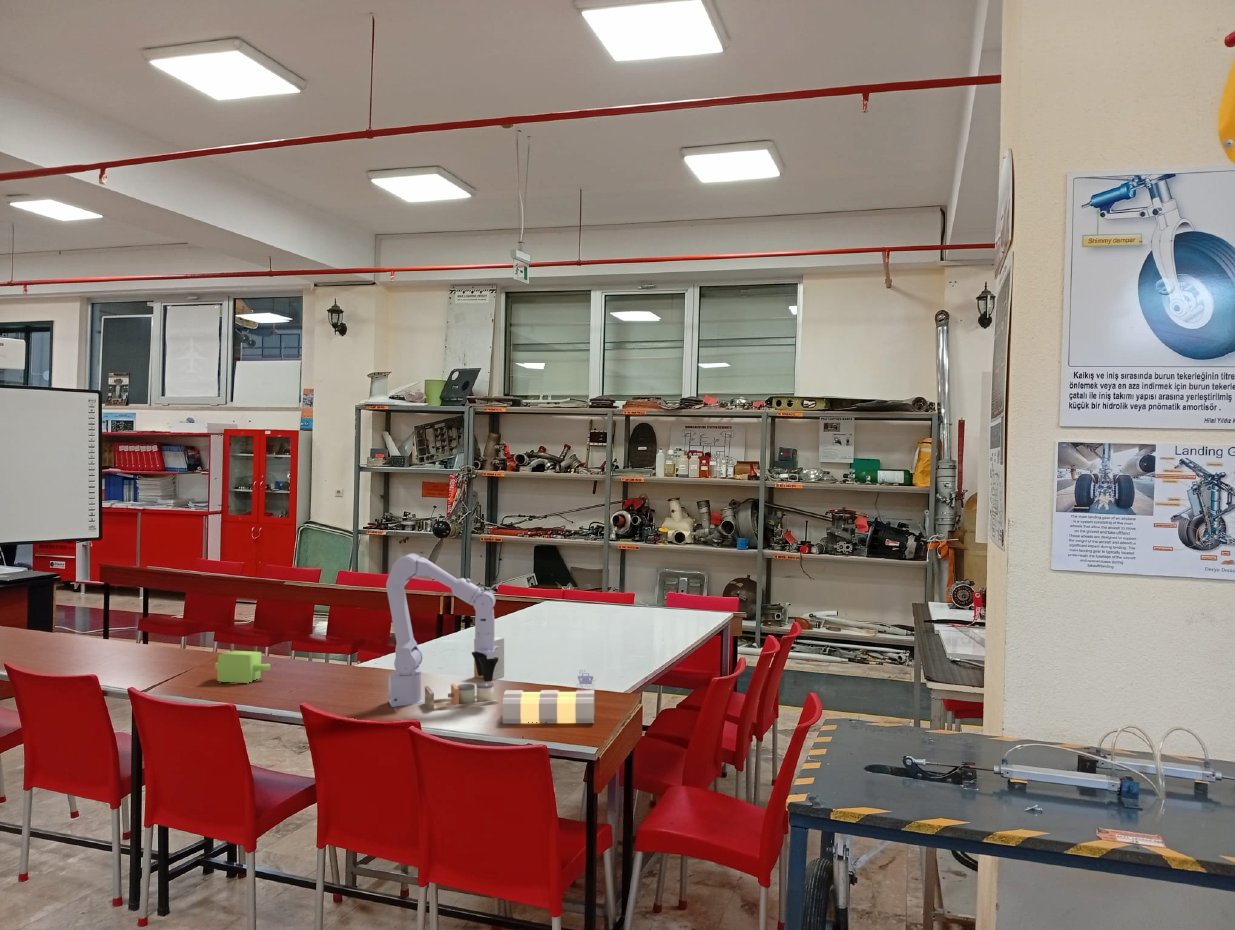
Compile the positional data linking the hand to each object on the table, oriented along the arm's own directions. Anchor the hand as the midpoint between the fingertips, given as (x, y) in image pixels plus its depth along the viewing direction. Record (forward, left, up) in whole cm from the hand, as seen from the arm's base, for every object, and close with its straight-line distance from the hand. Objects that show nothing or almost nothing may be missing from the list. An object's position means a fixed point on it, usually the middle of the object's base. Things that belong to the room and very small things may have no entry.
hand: (484, 678), depth 261 cm
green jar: (-6, 0, -7) cm, 9 cm away
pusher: (-10, 0, -6) cm, 12 cm away
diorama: (+13, -24, -8) cm, 28 cm away
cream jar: (0, 0, -7) cm, 7 cm away
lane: (-7, 0, -7) cm, 10 cm away
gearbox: (-67, +59, -8) cm, 90 cm away
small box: (+9, +31, -8) cm, 33 cm away
